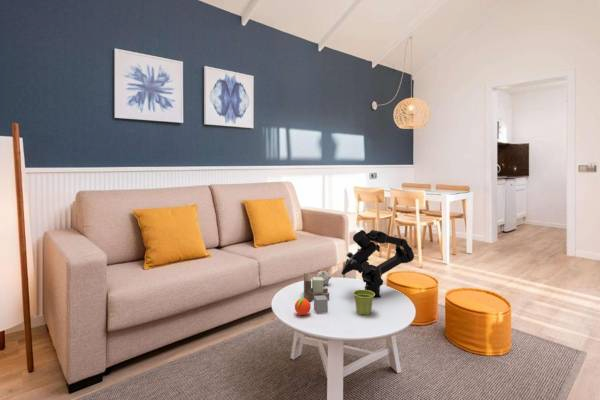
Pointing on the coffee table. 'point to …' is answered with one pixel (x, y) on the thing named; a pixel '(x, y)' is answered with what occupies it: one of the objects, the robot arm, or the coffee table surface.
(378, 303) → the coffee table surface
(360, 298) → the plant pot
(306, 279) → the walnut console
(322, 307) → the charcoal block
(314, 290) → the pale green block
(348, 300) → the coffee table surface
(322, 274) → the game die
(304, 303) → the clementine
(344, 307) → the coffee table surface
